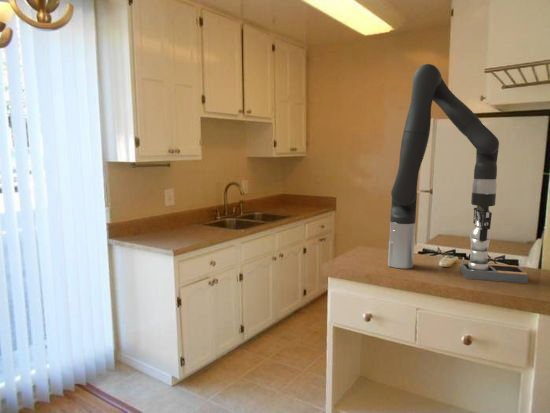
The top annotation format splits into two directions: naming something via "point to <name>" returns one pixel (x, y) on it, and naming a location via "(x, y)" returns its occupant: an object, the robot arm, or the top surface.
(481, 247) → the plastic bottle
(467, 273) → the grey tray
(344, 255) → the top surface
